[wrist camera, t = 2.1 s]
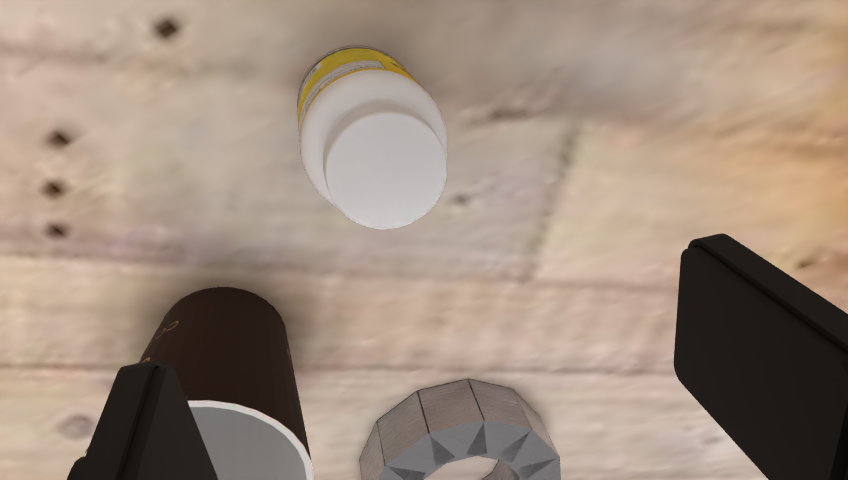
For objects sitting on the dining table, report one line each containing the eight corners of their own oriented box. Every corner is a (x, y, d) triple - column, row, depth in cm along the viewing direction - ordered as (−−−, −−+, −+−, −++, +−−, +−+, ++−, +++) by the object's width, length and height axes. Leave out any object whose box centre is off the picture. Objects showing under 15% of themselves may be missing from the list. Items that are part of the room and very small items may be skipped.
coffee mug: (219, 234, 30) (190, 358, 21) (341, 337, 34) (358, 478, 25) (57, 379, 31) (-34, 550, 23) (190, 461, 35) (156, 634, 26)
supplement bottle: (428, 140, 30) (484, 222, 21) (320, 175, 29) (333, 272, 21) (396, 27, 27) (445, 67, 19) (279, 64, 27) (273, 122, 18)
